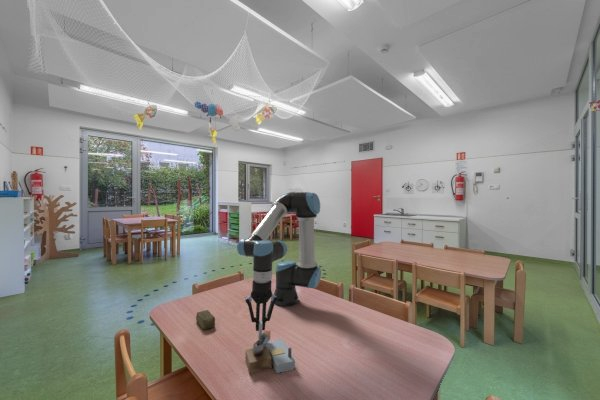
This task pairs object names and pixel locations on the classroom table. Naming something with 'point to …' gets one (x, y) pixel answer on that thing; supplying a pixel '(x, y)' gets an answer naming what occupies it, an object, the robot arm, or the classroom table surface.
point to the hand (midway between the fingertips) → (259, 337)
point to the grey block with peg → (280, 356)
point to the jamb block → (258, 361)
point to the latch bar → (261, 343)
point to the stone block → (205, 319)
